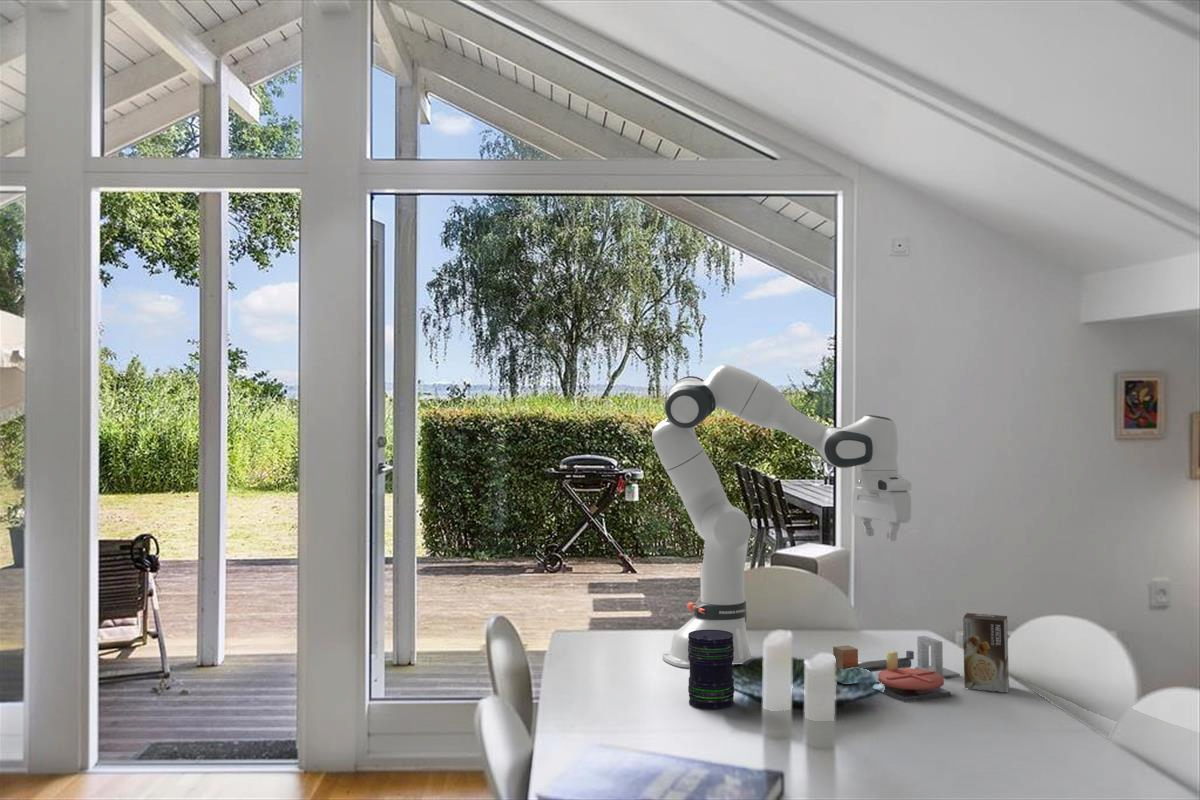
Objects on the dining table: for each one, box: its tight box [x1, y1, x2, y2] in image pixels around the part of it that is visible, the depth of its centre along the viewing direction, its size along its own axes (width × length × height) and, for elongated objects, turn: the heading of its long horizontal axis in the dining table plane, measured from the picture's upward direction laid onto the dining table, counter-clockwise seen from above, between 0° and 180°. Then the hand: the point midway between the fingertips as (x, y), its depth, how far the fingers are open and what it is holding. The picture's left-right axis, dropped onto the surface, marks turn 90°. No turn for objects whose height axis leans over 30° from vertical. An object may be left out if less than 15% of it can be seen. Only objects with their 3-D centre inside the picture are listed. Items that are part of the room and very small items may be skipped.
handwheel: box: [877, 650, 945, 690], centre depth 242 cm, size 14×14×6 cm
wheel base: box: [883, 685, 952, 703], centre depth 242 cm, size 12×12×1 cm
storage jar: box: [687, 630, 735, 711], centre depth 234 cm, size 10×10×15 cm
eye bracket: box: [914, 635, 961, 679], centre depth 258 cm, size 6×9×8 cm, turn 20°
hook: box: [832, 645, 915, 673], centre depth 253 cm, size 20×4×8 cm, turn 110°
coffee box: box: [962, 612, 1010, 693], centre depth 245 cm, size 9×6×16 cm
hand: (880, 538), depth 266 cm, fingers open, 8 cm apart
